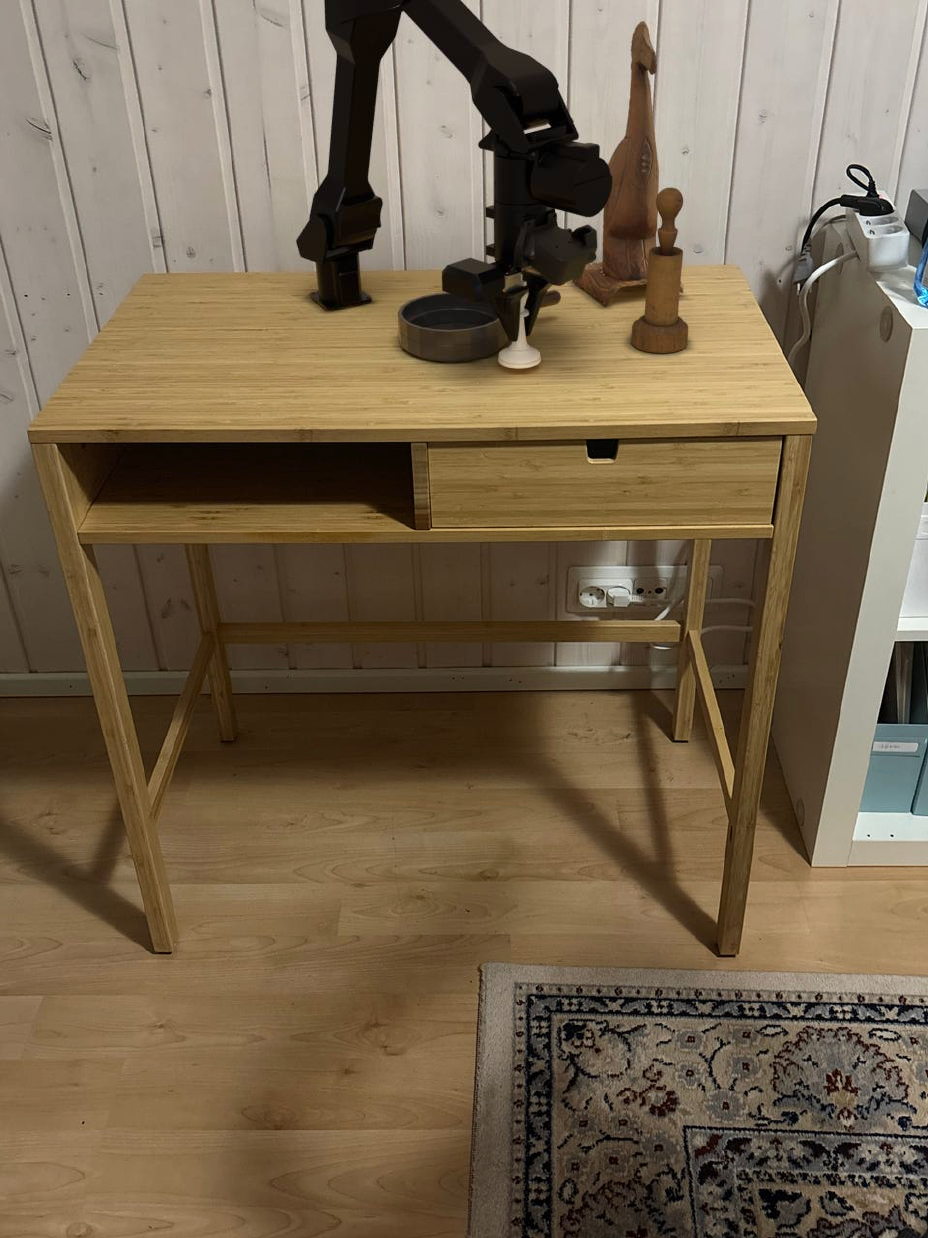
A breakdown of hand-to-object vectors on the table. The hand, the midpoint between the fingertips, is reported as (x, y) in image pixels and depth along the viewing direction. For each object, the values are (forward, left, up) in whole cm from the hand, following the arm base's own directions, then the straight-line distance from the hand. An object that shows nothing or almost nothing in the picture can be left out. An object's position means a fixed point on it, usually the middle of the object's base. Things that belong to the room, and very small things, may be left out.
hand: (519, 338), depth 134 cm
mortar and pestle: (+2, +18, -4) cm, 18 cm away
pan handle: (-11, +7, -2) cm, 13 cm away
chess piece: (0, 0, -3) cm, 3 cm away
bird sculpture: (-15, +25, -4) cm, 30 cm away
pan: (-11, -3, -4) cm, 12 cm away
